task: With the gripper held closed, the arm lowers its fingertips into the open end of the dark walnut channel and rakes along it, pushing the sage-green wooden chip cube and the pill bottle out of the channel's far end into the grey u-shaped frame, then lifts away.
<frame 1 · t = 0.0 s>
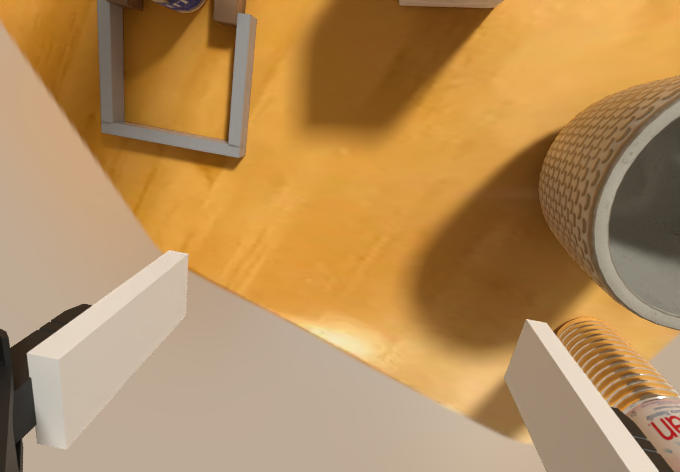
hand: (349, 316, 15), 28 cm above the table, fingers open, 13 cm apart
planter: (600, 169, 40), on the table
water bottle: (580, 339, 46), on the table
grey u-shaped frame: (180, 83, 40), on the table
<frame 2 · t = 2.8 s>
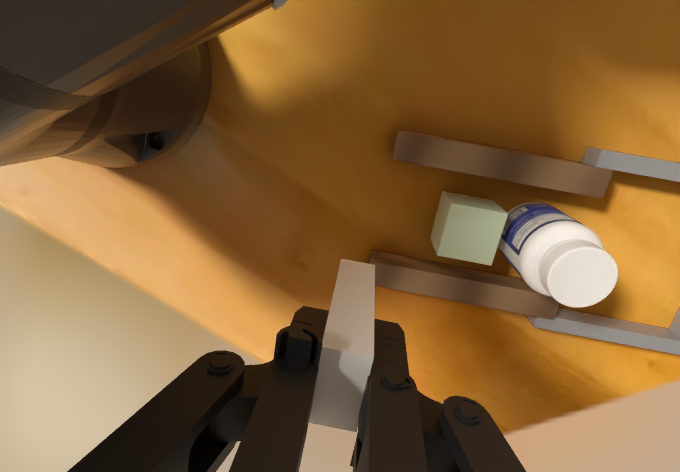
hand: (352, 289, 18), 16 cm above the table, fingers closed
pill bottle: (527, 231, 32), on the table
chip cube: (460, 218, 32), on the table
slot rails: (473, 221, 32), on the table
grey u-shaped frame: (641, 253, 32), on the table
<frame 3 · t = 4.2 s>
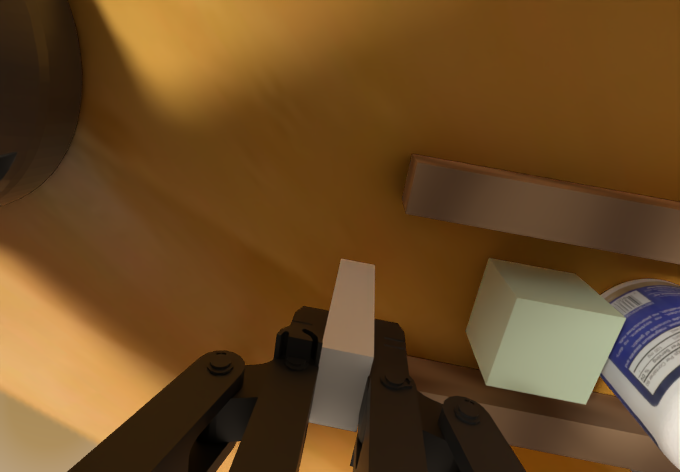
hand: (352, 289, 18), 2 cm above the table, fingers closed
pill bottle: (631, 323, 19), on the table
chip cube: (517, 302, 19), on the table
slot rails: (539, 308, 19), on the table
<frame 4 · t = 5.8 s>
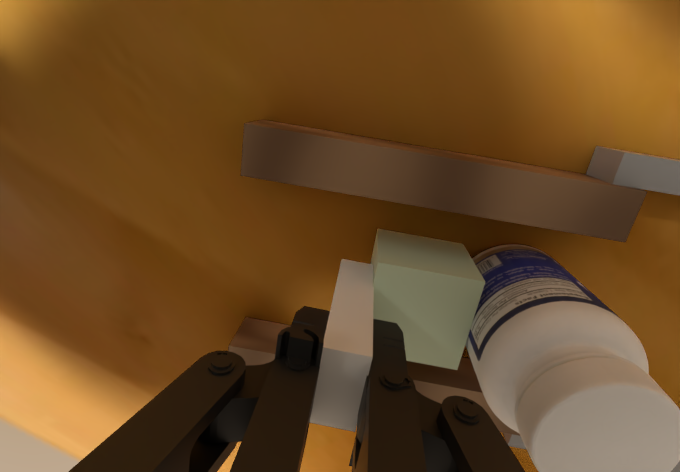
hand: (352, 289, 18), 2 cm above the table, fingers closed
pill bottle: (504, 290, 19), on the table, touching chip cube
chip cube: (410, 274, 19), on the table, touching gripper, pill bottle
slot rails: (404, 273, 19), on the table
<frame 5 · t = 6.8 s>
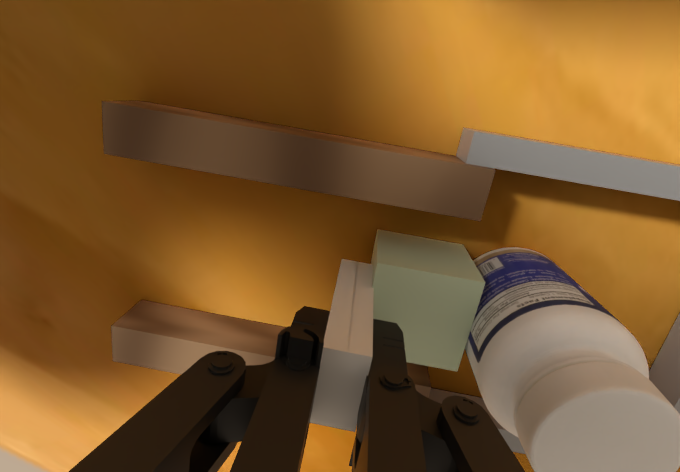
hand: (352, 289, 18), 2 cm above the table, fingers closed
pill bottle: (504, 293, 19), on the table, touching chip cube
chip cube: (410, 275, 19), on the table, touching gripper, pill bottle
slot rails: (290, 256, 19), on the table
grey u-shaped frame: (570, 307, 19), on the table
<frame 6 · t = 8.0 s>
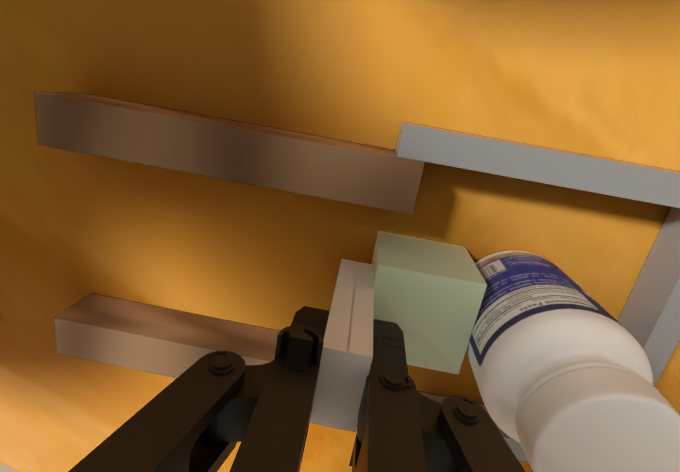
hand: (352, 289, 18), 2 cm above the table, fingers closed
pill bottle: (506, 296, 19), on the table, touching chip cube
chip cube: (411, 277, 19), on the table, touching gripper, pill bottle
slot rails: (236, 250, 19), on the table
grey u-shaped frame: (514, 303, 19), on the table
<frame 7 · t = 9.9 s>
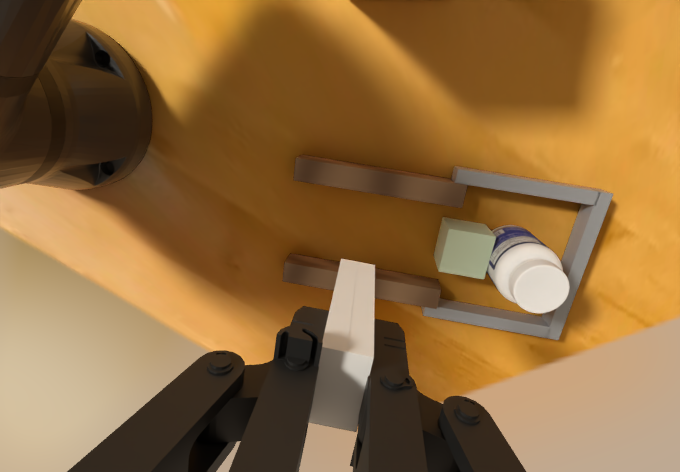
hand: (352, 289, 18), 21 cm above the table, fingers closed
pill bottle: (506, 249, 38), on the table
chip cube: (458, 240, 38), on the table
slot rails: (370, 228, 39), on the table
grey u-shaped frame: (510, 252, 38), on the table
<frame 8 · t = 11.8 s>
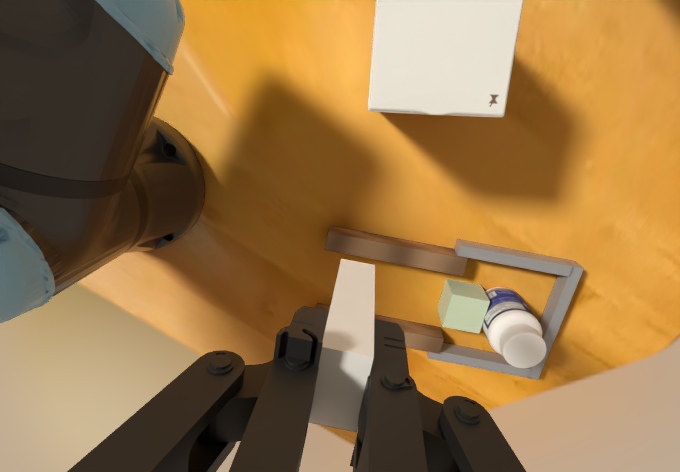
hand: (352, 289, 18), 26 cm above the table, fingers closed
supplement box: (420, 62, 39), on the table
pill bottle: (497, 305, 46), on the table
chip cube: (458, 296, 46), on the table
slot rails: (385, 285, 46), on the table
grey u-shaped frame: (500, 307, 46), on the table
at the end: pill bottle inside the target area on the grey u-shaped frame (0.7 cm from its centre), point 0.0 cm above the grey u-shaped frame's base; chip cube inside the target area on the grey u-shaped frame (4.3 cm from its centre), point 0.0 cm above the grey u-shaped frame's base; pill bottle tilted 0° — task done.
